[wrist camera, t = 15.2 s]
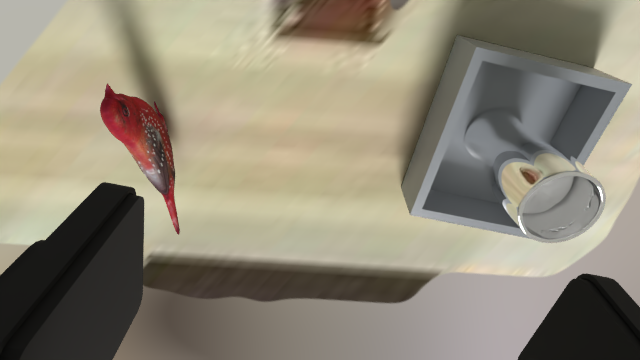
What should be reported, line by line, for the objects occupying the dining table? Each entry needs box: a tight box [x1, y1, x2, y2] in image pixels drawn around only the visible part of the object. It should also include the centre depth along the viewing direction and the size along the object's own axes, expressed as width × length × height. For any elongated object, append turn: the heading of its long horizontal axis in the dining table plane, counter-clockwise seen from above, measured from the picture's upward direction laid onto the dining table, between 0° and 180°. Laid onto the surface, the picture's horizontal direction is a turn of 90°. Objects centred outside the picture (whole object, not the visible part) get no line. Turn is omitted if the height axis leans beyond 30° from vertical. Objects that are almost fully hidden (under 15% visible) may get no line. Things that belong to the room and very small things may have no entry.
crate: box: [401, 35, 632, 239], centre depth 43 cm, size 18×15×6 cm
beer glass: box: [465, 109, 606, 243], centre depth 39 cm, size 7×7×15 cm
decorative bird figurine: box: [100, 84, 180, 234], centre depth 43 cm, size 3×18×10 cm, turn 9°
